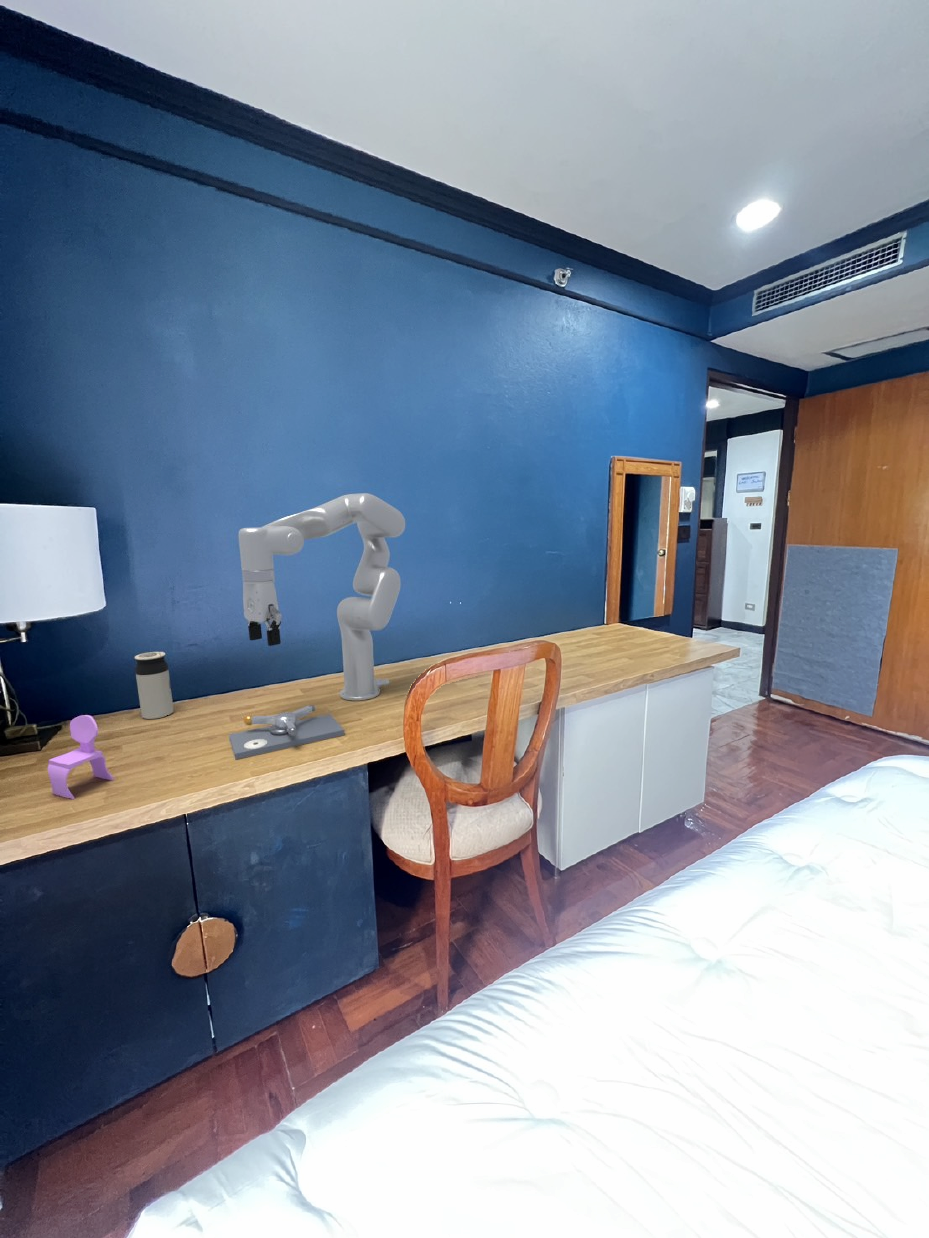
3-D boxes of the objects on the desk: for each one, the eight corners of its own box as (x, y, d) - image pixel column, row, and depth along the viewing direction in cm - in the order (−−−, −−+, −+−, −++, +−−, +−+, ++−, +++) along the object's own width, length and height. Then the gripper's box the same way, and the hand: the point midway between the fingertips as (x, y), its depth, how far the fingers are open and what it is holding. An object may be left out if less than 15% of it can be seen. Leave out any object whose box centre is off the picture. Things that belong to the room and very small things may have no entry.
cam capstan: (316, 716, 137) (315, 702, 136) (296, 743, 120) (295, 728, 119) (258, 717, 137) (257, 703, 136) (229, 744, 120) (228, 729, 119)
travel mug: (139, 721, 140) (130, 659, 136) (144, 712, 147) (136, 653, 143) (172, 717, 143) (164, 656, 139) (175, 708, 150) (167, 650, 147)
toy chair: (47, 794, 102) (34, 725, 99) (92, 774, 110) (81, 710, 107) (73, 801, 99) (61, 731, 96) (117, 780, 107) (107, 715, 104)
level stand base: (330, 718, 140) (330, 713, 140) (344, 735, 129) (344, 728, 129) (229, 739, 127) (228, 733, 127) (235, 759, 116) (234, 752, 116)
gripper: (228, 576, 129) (235, 640, 132) (261, 580, 118) (267, 650, 121) (256, 573, 135) (262, 635, 138) (290, 577, 123) (295, 644, 127)
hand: (264, 642), depth 130 cm, fingers open, 9 cm apart
